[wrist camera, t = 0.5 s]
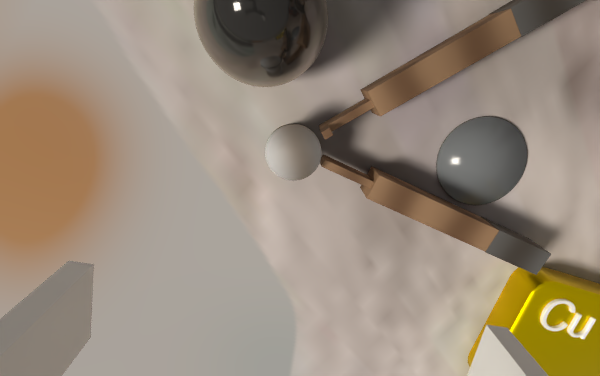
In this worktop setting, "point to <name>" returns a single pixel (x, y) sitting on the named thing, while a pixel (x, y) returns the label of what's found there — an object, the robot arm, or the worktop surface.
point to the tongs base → (444, 216)
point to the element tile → (551, 320)
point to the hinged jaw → (413, 80)
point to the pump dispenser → (262, 37)
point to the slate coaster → (481, 160)
